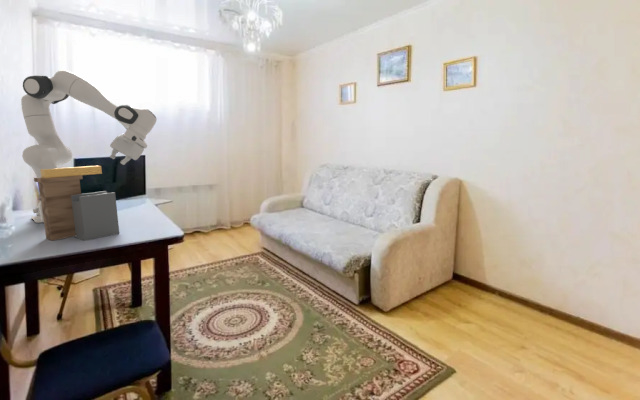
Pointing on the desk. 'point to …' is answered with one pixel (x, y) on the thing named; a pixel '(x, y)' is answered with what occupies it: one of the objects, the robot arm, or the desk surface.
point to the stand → (58, 205)
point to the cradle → (95, 215)
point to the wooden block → (70, 171)
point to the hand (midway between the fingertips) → (116, 161)
